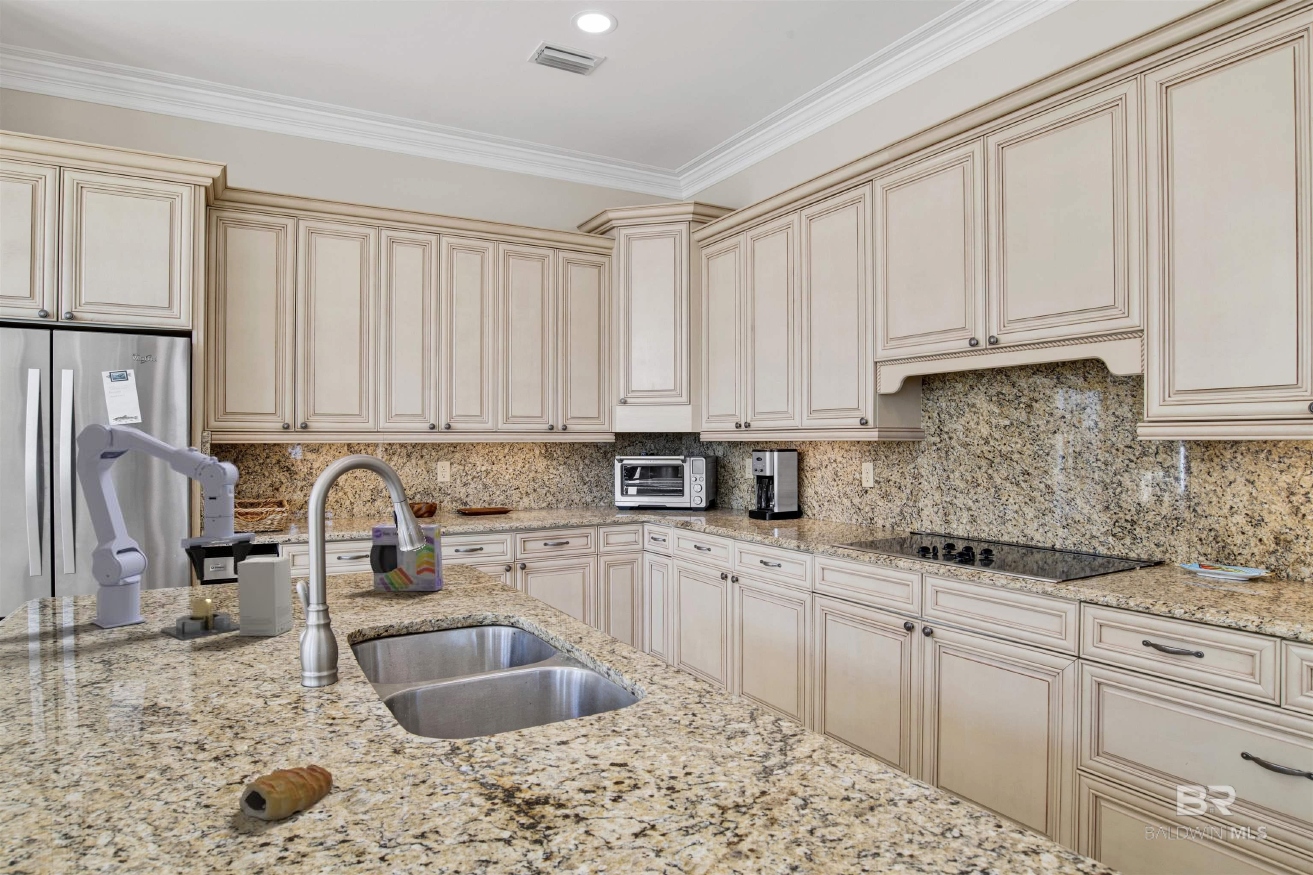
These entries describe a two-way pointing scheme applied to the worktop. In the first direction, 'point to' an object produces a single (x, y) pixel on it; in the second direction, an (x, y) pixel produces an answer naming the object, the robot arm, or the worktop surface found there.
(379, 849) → the worktop surface
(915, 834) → the worktop surface
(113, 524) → the robot arm
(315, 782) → the pastry
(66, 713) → the worktop surface
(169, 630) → the hub plate
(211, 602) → the gold metal block
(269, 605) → the skincare box
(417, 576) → the cake pan box
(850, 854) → the worktop surface
